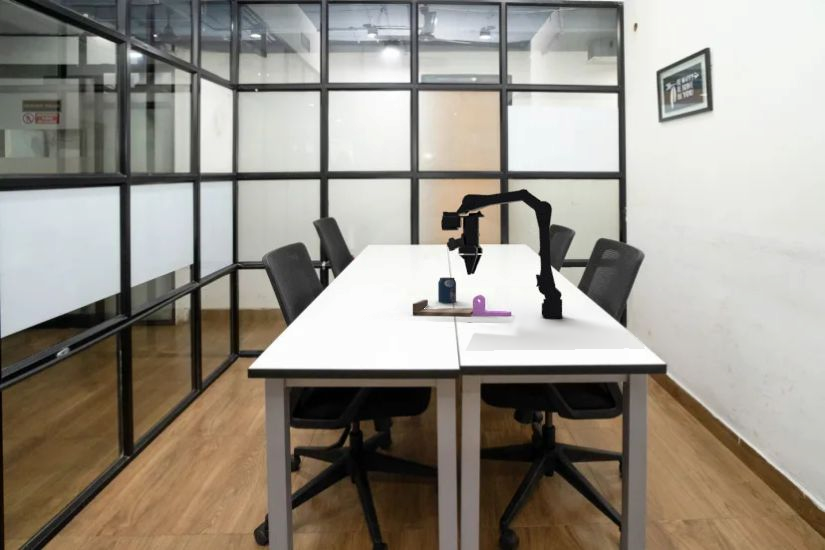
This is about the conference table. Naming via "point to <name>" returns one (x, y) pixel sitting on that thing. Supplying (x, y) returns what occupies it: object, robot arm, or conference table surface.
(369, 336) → the conference table surface
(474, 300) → the bracket
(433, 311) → the board
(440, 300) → the soda can
